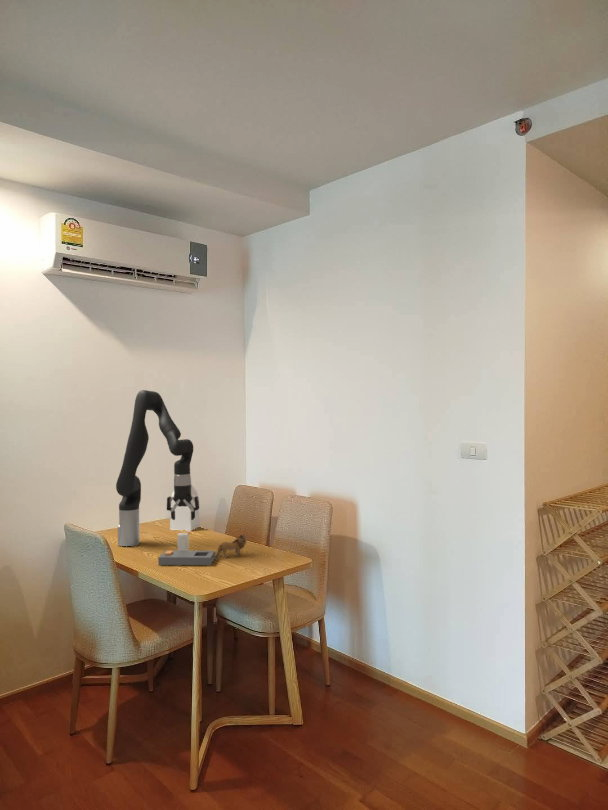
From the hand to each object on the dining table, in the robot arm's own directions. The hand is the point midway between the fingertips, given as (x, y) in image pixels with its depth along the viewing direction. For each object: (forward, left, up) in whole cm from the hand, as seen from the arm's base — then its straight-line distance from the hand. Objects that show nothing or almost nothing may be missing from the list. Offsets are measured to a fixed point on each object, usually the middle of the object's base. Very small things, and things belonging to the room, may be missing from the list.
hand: (183, 519), depth 242 cm
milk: (-12, +47, -16) cm, 51 cm away
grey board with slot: (+5, -12, -16) cm, 20 cm away
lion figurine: (+22, -3, -16) cm, 28 cm away
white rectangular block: (0, 0, -16) cm, 16 cm away
